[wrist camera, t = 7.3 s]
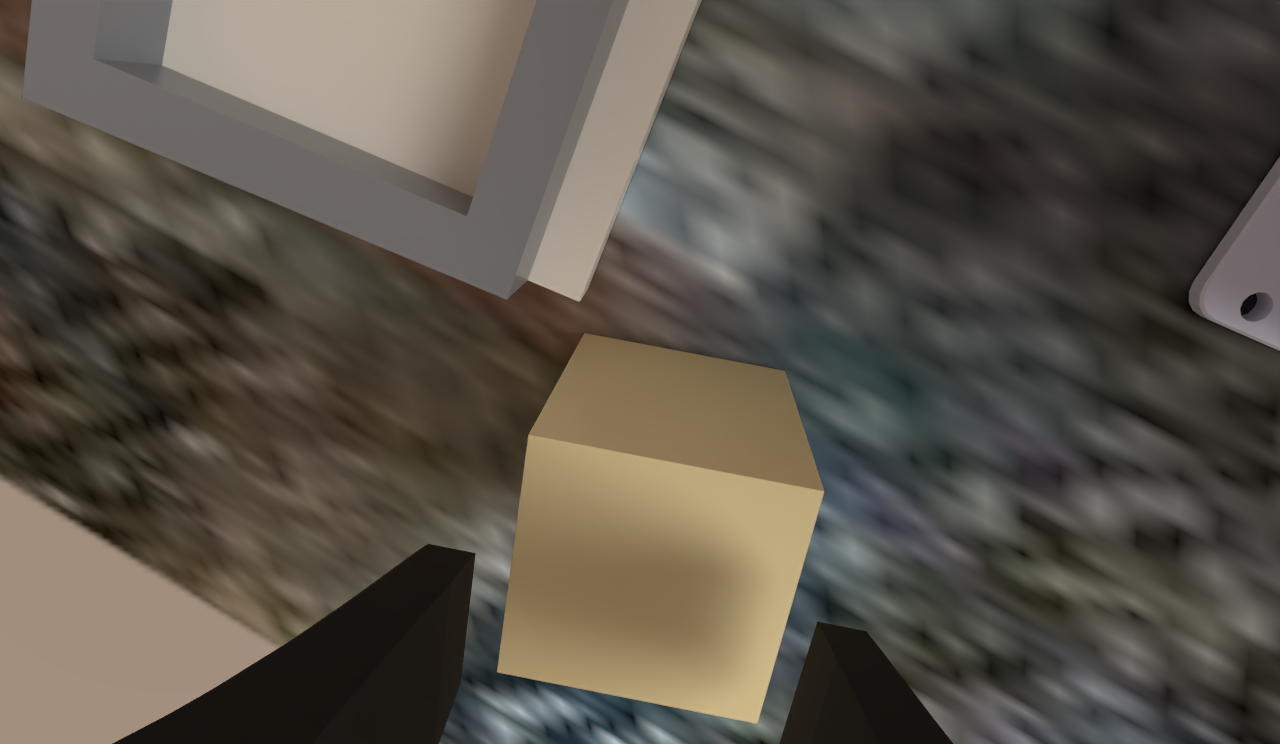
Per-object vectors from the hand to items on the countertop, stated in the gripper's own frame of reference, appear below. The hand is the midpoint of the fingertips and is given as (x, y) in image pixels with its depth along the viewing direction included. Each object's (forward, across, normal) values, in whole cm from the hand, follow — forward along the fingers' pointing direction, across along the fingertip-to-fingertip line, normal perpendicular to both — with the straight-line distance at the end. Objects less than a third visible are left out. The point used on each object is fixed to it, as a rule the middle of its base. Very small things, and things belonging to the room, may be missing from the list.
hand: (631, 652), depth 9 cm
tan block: (+6, 0, 0) cm, 6 cm away
